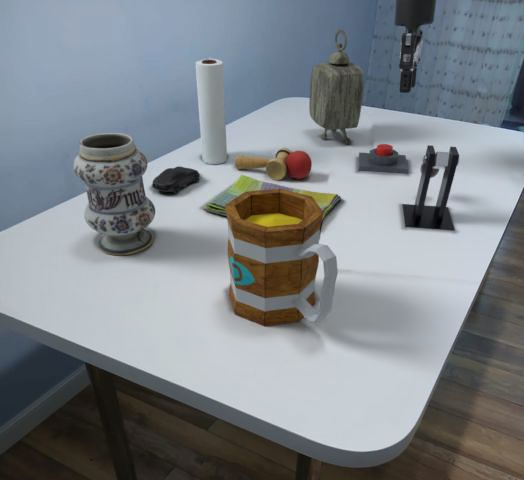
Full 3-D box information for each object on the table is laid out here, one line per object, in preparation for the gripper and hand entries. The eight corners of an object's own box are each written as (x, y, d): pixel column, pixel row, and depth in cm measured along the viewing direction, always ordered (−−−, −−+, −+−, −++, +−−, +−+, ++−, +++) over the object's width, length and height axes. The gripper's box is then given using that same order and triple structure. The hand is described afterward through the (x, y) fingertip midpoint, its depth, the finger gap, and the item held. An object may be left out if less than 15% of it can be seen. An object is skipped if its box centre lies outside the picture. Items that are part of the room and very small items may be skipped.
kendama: (231, 181, 114) (305, 182, 108) (229, 152, 111) (305, 151, 105) (245, 175, 121) (316, 175, 114) (243, 147, 118) (315, 146, 111)
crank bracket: (401, 209, 101) (415, 139, 92) (446, 212, 100) (465, 142, 91) (404, 232, 93) (419, 158, 84) (453, 236, 92) (474, 161, 83)
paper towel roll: (217, 166, 118) (212, 65, 104) (197, 161, 120) (189, 62, 106) (234, 157, 123) (231, 59, 108) (214, 152, 125) (209, 56, 111)
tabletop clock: (356, 146, 129) (370, 34, 112) (323, 149, 127) (332, 35, 111) (336, 129, 139) (346, 24, 123) (306, 132, 138) (312, 25, 121)
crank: (417, 178, 101) (420, 159, 100) (436, 179, 100) (438, 161, 99) (430, 169, 88) (433, 147, 87) (451, 170, 87) (454, 148, 87)
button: (391, 152, 116) (392, 144, 114) (391, 157, 113) (393, 149, 112) (375, 151, 116) (376, 143, 115) (376, 156, 113) (377, 148, 112)
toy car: (203, 179, 112) (202, 162, 110) (169, 198, 104) (167, 180, 102) (183, 174, 114) (181, 157, 112) (148, 192, 107) (146, 175, 104)
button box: (403, 164, 120) (407, 147, 117) (406, 178, 113) (409, 161, 110) (358, 161, 121) (360, 144, 118) (357, 175, 114) (359, 158, 111)
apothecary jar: (157, 223, 96) (143, 126, 84) (161, 254, 87) (145, 150, 75) (93, 229, 94) (69, 130, 82) (90, 262, 85) (62, 156, 73)
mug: (211, 293, 78) (204, 203, 68) (280, 267, 84) (283, 180, 74) (287, 362, 66) (292, 264, 56) (361, 326, 72) (377, 232, 62)
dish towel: (243, 182, 111) (242, 170, 109) (346, 204, 102) (347, 191, 101) (201, 213, 99) (200, 200, 97) (313, 240, 91) (314, 227, 89)
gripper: (433, -7, 89) (422, 94, 98) (439, -5, 100) (428, 85, 109) (391, -3, 91) (384, 94, 100) (401, -3, 102) (393, 86, 111)
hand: (407, 89), depth 104 cm, fingers open, 8 cm apart
